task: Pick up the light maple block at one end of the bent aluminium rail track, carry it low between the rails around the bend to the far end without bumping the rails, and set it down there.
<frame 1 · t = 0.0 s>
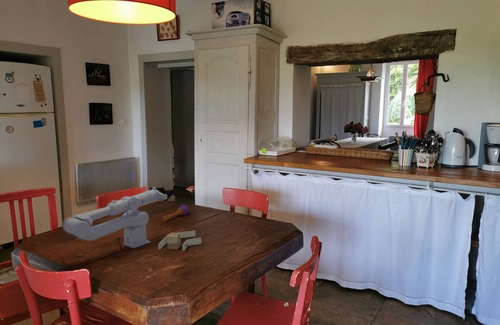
hand: (169, 190, 180), 22 cm above the table, tool horizontal, fingers open, 7 cm apart
kendama: (175, 218, 209), on the table
rail track: (181, 243, 168), on the table
maple block: (174, 247, 163), on the table
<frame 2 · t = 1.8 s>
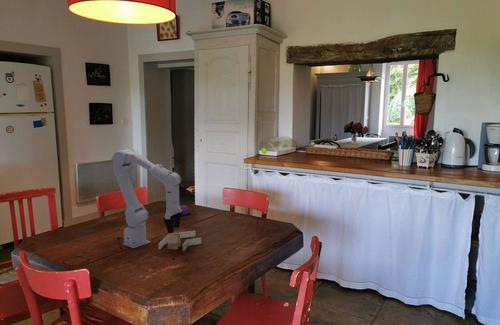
hand: (173, 230, 162), 8 cm above the table, tool pointing down, fingers open, 7 cm apart
nothing on the table moved.
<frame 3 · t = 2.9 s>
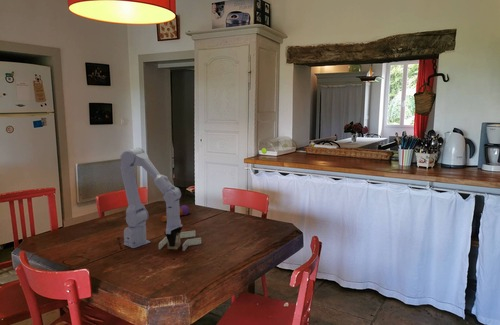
hand: (174, 244, 163), 1 cm above the table, tool pointing down, fingers closed on maple block, 4 cm apart
maple block: (174, 247, 163), on the table, touching gripper
everything else where it was.
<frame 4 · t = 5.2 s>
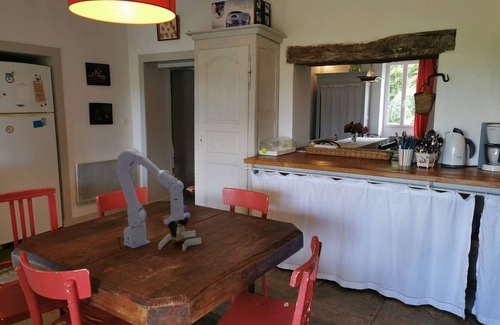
hand: (177, 235, 168), 4 cm above the table, tool pointing down, fingers closed on maple block, 4 cm apart
maple block: (178, 238, 169), point 2 cm above the table, touching gripper
everything else where it was.
when the fingers open (2 cm above the table, at t = 7.7 s): maple block drops 1 cm, on the table.
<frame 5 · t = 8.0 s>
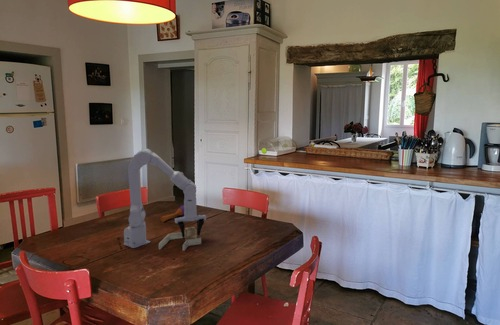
hand: (190, 235, 171), 2 cm above the table, tool pointing down, fingers open, 7 cm apart
maple block: (191, 240, 172), on the table
everything else where it was.
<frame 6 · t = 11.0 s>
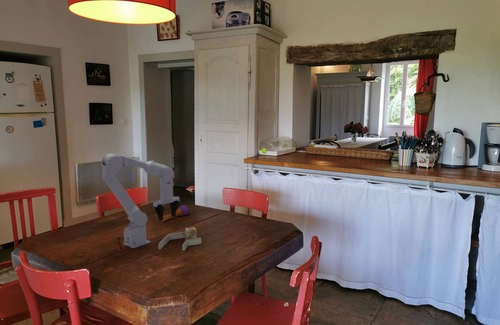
hand: (167, 218, 176), 9 cm above the table, tool pointing down, fingers open, 7 cm apart
nothing on the table moved.
at the end: maple block 0.0 cm from the target spot on the rail track, point 0.0 cm above the rail track's base; maple block tilted 0°; rail track moved 0.0 cm from its start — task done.
